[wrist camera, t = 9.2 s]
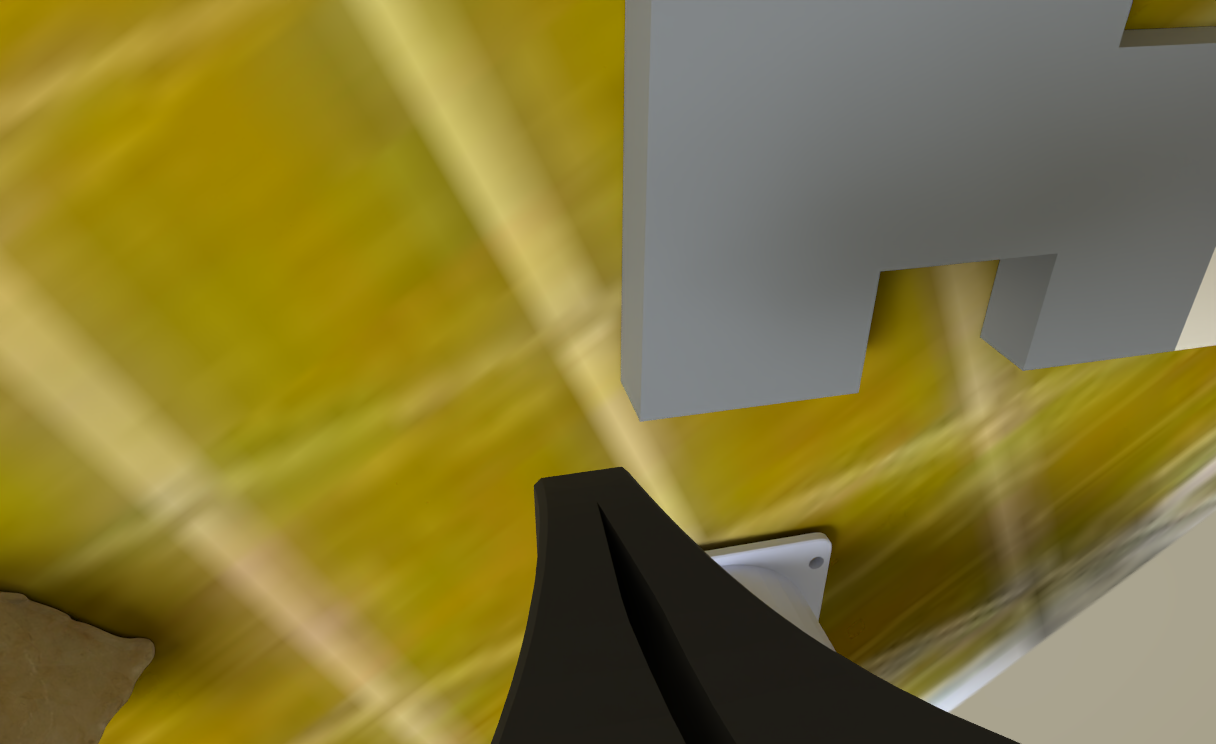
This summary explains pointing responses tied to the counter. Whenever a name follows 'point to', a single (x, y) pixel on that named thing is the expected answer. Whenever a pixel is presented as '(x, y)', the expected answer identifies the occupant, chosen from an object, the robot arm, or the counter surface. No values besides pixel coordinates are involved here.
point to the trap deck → (905, 185)
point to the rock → (61, 674)
